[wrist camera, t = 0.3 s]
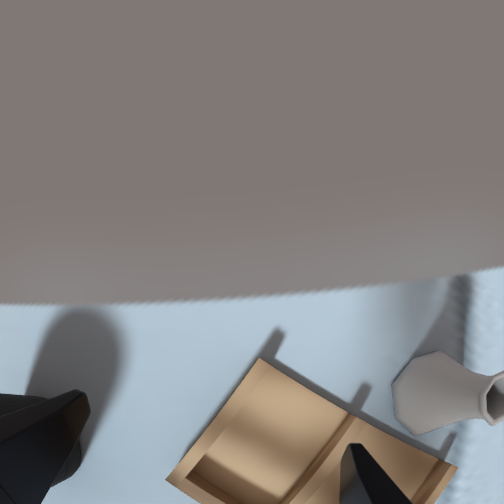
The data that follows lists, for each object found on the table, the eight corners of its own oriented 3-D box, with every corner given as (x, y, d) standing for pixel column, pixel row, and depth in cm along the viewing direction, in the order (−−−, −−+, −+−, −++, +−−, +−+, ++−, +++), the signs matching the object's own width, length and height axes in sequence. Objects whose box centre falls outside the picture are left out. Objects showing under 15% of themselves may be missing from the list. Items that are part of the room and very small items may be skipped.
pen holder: (8, 395, 22) (-62, 390, 12) (70, 388, 22) (-8, 386, 13) (32, 479, 18) (-33, 496, 9) (99, 483, 19) (33, 517, 10)
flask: (441, 336, 23) (515, 314, 13) (469, 401, 20) (544, 404, 11) (376, 381, 22) (438, 385, 12) (407, 449, 19) (473, 479, 10)
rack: (364, 560, 15) (371, 573, 13) (174, 470, 20) (165, 479, 17) (444, 461, 18) (458, 467, 16) (259, 358, 23) (259, 357, 21)
